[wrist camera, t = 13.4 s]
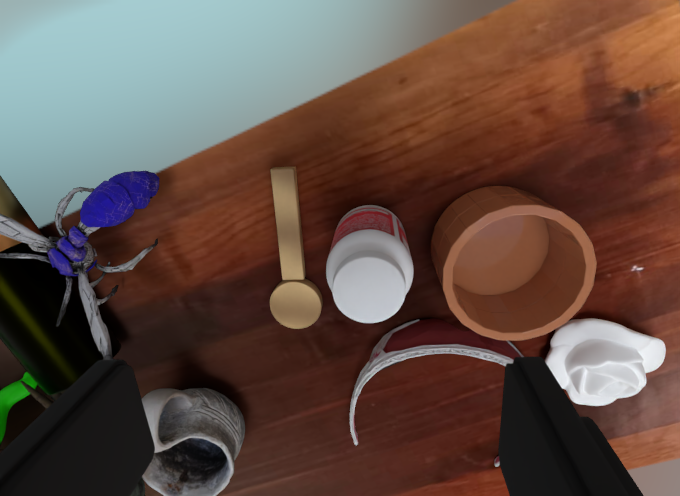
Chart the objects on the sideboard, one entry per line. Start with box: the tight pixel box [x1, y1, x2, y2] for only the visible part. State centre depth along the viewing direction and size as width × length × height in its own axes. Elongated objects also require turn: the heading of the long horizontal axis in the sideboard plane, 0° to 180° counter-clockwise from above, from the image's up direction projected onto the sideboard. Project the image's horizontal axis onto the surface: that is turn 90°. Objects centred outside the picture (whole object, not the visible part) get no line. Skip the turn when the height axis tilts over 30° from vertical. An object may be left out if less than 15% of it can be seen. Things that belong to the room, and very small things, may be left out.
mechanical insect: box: [0, 171, 159, 360], centre depth 31 cm, size 19×14×15 cm
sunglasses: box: [350, 318, 524, 467], centre depth 40 cm, size 17×17×5 cm
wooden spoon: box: [270, 167, 323, 329], centre depth 37 cm, size 15×5×1 cm, turn 3°
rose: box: [545, 318, 666, 406], centre depth 36 cm, size 10×4×10 cm
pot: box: [431, 186, 597, 341], centre depth 32 cm, size 10×10×7 cm
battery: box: [0, 176, 121, 395], centre depth 37 cm, size 7×7×20 cm
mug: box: [141, 388, 245, 496], centre depth 39 cm, size 10×12×10 cm
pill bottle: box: [326, 205, 413, 323], centre depth 31 cm, size 6×6×11 cm
